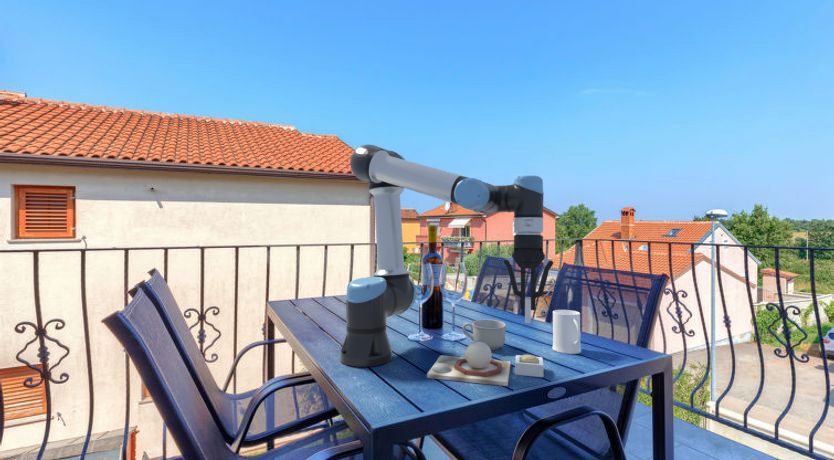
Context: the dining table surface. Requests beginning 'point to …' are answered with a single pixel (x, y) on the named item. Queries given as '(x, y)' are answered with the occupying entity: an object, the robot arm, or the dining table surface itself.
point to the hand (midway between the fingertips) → (527, 322)
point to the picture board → (470, 371)
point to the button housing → (529, 367)
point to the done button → (529, 359)
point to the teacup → (487, 332)
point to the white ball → (478, 355)
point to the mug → (566, 331)
